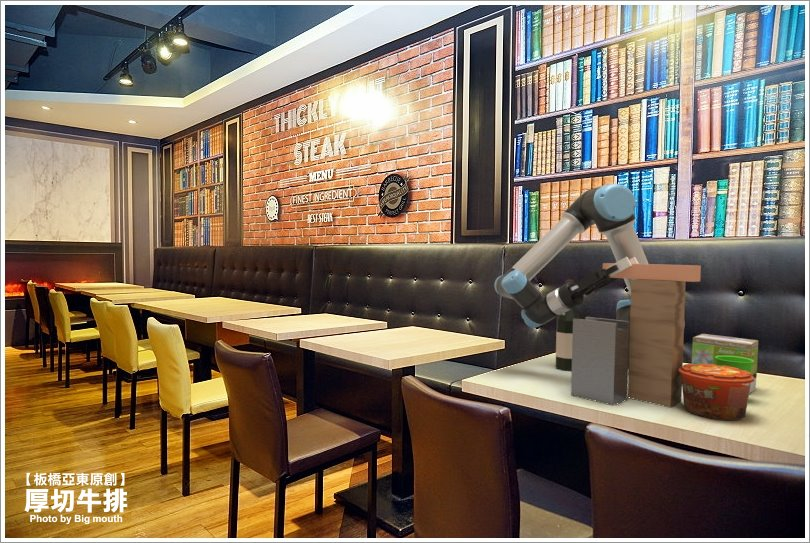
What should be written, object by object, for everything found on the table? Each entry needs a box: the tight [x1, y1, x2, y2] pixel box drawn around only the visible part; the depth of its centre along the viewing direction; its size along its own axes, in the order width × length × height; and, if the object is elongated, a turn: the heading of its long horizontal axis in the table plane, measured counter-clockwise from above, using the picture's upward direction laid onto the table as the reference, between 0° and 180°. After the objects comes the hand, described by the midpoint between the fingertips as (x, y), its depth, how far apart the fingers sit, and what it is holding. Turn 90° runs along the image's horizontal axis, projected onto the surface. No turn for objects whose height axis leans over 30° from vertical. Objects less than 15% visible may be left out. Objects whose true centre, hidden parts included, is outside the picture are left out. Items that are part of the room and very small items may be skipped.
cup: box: [715, 355, 754, 373], centre depth 139 cm, size 9×9×11 cm
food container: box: [678, 363, 754, 421], centre depth 126 cm, size 16×16×11 cm
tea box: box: [690, 333, 759, 394], centre depth 151 cm, size 15×10×15 cm
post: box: [627, 279, 687, 408], centre depth 136 cm, size 7×11×32 cm, turn 41°
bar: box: [602, 262, 702, 283], centre depth 137 cm, size 4×24×4 cm, turn 41°
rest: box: [570, 316, 629, 406], centre depth 137 cm, size 8×12×21 cm, turn 41°
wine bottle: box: [555, 279, 582, 372], centre depth 172 cm, size 8×8×30 cm
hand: (632, 261), depth 140 cm, fingers closed on bar, 4 cm apart
